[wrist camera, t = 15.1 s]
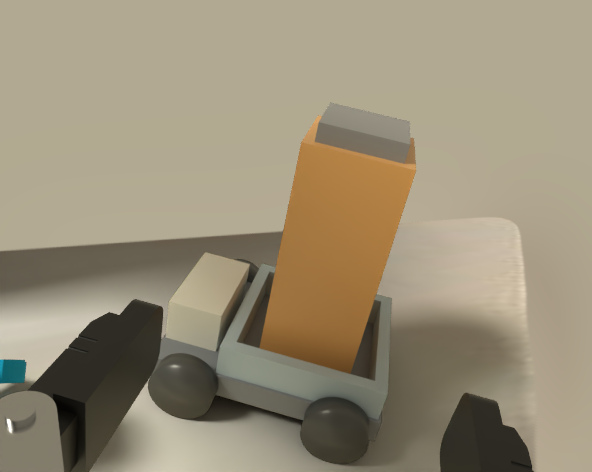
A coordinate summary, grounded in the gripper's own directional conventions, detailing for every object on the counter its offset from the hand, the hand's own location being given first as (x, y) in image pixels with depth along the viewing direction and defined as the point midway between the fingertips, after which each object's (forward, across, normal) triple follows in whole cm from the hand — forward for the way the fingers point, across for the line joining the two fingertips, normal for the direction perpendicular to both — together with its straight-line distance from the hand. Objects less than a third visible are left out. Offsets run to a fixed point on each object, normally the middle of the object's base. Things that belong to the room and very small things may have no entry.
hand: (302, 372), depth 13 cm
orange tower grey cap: (+11, 0, +8) cm, 14 cm away
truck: (+11, +2, +10) cm, 15 cm away
